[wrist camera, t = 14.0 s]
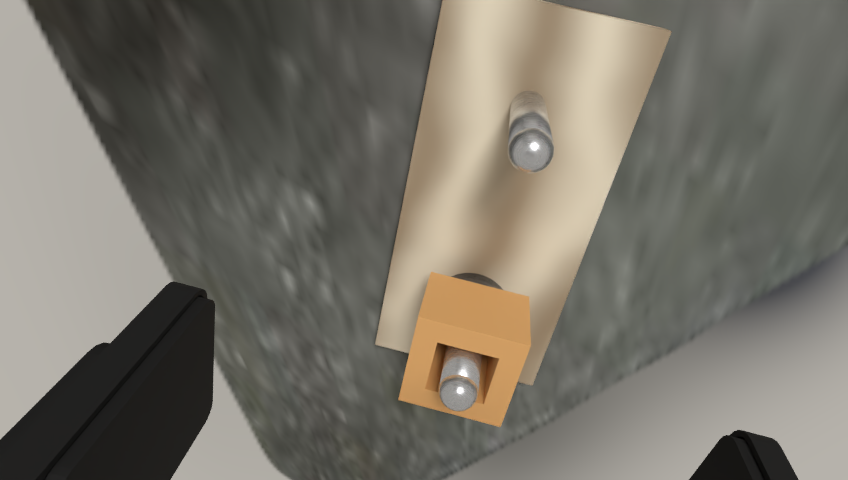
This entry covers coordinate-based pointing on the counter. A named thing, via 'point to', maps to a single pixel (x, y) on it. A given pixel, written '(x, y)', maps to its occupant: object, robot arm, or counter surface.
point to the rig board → (489, 162)
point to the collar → (468, 344)
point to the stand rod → (529, 133)
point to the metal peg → (462, 365)
